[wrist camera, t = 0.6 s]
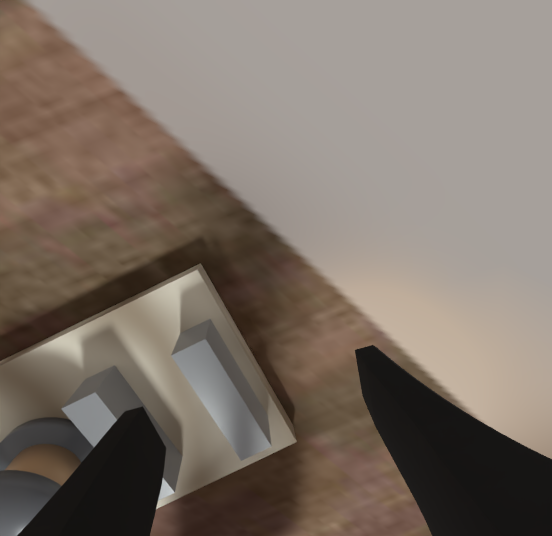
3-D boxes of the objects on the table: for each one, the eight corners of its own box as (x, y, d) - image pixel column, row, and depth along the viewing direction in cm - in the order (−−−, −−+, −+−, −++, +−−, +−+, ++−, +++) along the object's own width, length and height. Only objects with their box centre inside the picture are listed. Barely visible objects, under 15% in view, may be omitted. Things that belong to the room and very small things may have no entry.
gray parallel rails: (156, 469, 20) (144, 507, 18) (84, 379, 18) (60, 408, 16) (267, 415, 20) (271, 446, 18) (210, 318, 18) (205, 338, 16)
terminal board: (-16, 573, 23) (-33, 599, 21) (-170, 444, 19) (-205, 465, 17) (293, 425, 23) (296, 442, 21) (200, 263, 19) (197, 269, 17)
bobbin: (43, 512, 20) (-10, 598, 16) (-24, 445, 18) (-103, 522, 14) (128, 471, 20) (98, 546, 16) (69, 400, 18) (18, 464, 14)
